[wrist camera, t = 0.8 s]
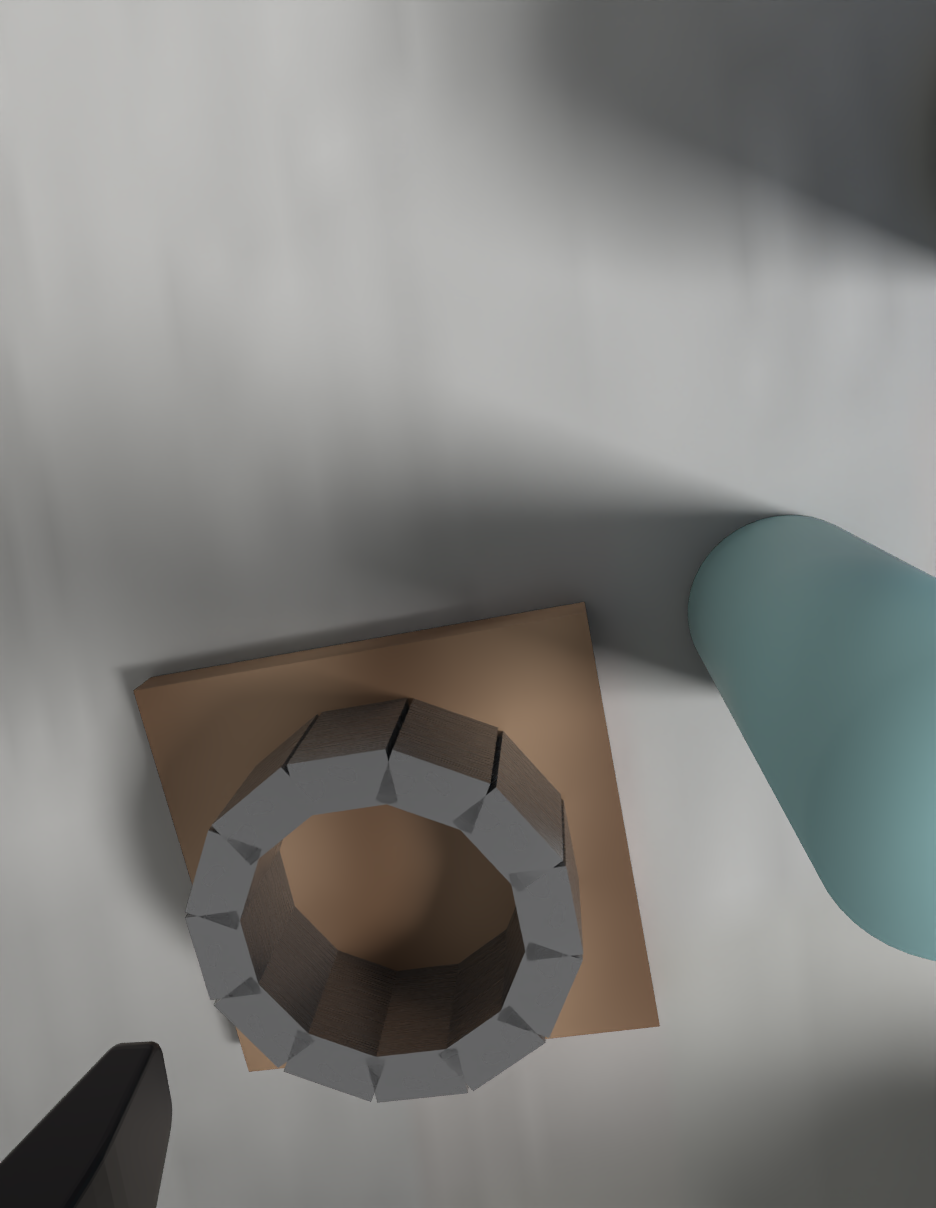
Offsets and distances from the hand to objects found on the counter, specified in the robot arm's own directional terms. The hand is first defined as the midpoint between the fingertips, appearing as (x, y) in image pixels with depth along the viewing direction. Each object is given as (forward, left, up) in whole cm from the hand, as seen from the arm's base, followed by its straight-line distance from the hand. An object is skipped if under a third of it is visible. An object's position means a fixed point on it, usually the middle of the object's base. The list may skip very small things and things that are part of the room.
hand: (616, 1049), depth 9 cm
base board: (+5, +4, -13) cm, 15 cm away
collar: (+5, +4, -13) cm, 15 cm away
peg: (-5, 0, -13) cm, 14 cm away
